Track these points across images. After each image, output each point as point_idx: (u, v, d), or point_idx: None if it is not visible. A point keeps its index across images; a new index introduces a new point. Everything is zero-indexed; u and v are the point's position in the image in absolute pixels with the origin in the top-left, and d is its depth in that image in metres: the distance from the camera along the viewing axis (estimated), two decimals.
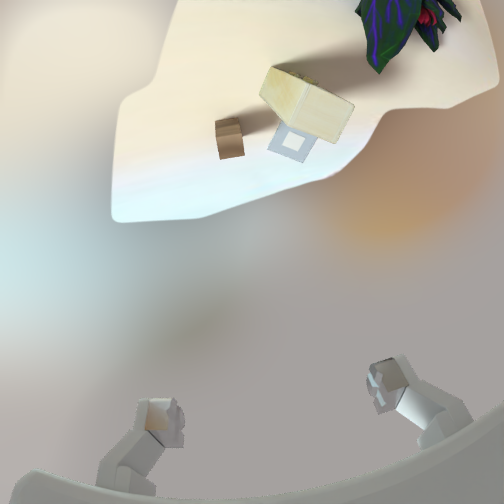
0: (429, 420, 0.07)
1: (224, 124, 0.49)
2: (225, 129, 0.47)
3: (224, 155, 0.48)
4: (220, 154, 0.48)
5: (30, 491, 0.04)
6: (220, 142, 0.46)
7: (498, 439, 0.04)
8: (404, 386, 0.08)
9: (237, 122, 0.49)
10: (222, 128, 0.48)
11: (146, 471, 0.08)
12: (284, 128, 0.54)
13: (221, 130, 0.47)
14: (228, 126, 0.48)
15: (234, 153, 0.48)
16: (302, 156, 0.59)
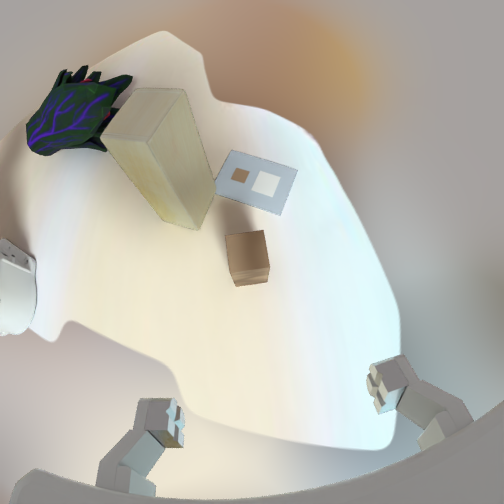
0: (429, 420, 0.07)
1: None
2: None
3: (262, 260, 0.32)
4: (260, 266, 0.32)
5: (30, 491, 0.04)
6: (238, 266, 0.32)
7: (498, 439, 0.04)
8: (404, 386, 0.08)
9: None
10: None
11: (146, 471, 0.08)
12: (247, 196, 0.44)
13: None
14: None
15: (259, 244, 0.32)
16: (288, 171, 0.45)
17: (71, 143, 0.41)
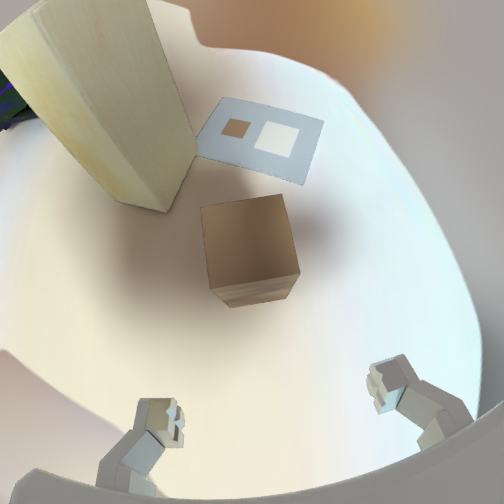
0: (429, 420, 0.07)
1: None
2: None
3: (282, 259, 0.14)
4: (279, 272, 0.14)
5: (30, 491, 0.04)
6: (229, 274, 0.14)
7: (498, 438, 0.04)
8: (404, 386, 0.08)
9: None
10: None
11: (146, 471, 0.08)
12: (248, 157, 0.26)
13: None
14: None
15: (274, 224, 0.15)
16: (309, 121, 0.27)
17: (14, 110, 0.24)
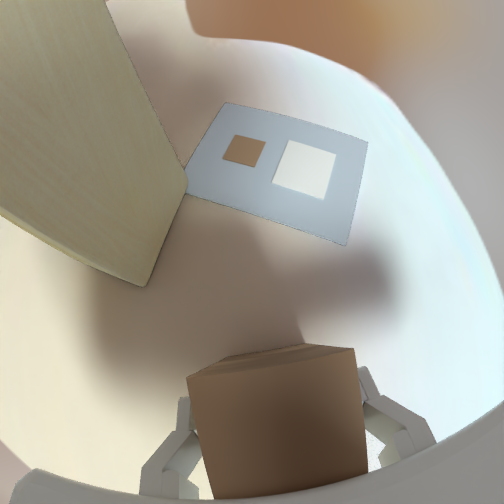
0: (390, 437, 0.07)
1: None
2: None
3: (344, 469, 0.06)
4: None
5: (30, 491, 0.04)
6: (250, 494, 0.06)
7: (498, 438, 0.04)
8: (362, 401, 0.08)
9: None
10: None
11: (187, 473, 0.08)
12: (263, 198, 0.18)
13: None
14: None
15: (335, 415, 0.06)
16: (349, 142, 0.19)
17: None
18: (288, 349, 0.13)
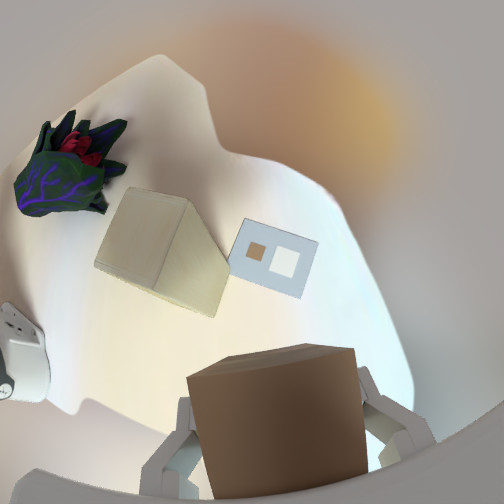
0: (391, 437, 0.07)
1: None
2: None
3: (344, 469, 0.06)
4: None
5: (30, 491, 0.04)
6: (250, 493, 0.06)
7: (498, 439, 0.04)
8: (362, 400, 0.08)
9: None
10: None
11: (188, 473, 0.08)
12: (264, 277, 0.41)
13: None
14: None
15: (336, 414, 0.06)
16: (308, 245, 0.42)
17: (65, 210, 0.39)
18: (288, 349, 0.13)
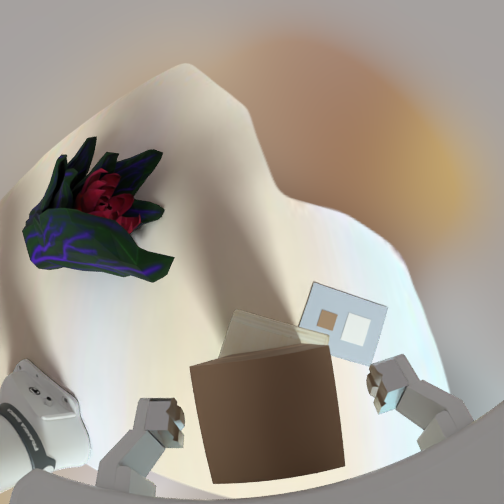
0: (429, 420, 0.07)
1: None
2: None
3: (322, 451, 0.07)
4: (314, 467, 0.07)
5: (30, 491, 0.04)
6: (241, 469, 0.07)
7: (498, 439, 0.04)
8: (404, 386, 0.08)
9: None
10: None
11: (146, 471, 0.08)
12: (336, 347, 0.36)
13: None
14: None
15: (313, 401, 0.08)
16: (378, 310, 0.37)
17: None
18: None
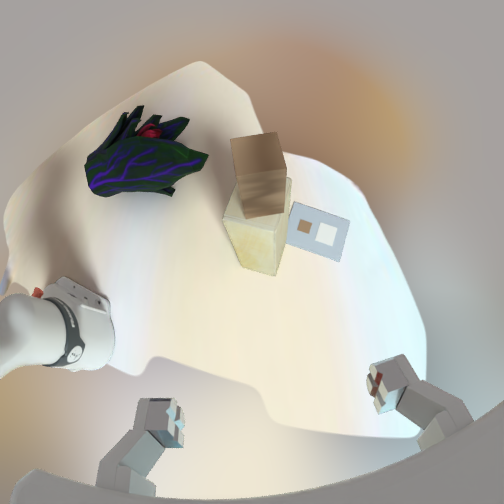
0: (429, 420, 0.07)
1: None
2: None
3: (276, 161, 0.24)
4: (274, 167, 0.24)
5: (30, 491, 0.04)
6: (247, 169, 0.24)
7: (498, 439, 0.04)
8: (404, 386, 0.08)
9: None
10: None
11: (146, 471, 0.08)
12: (312, 245, 0.53)
13: None
14: None
15: (272, 146, 0.25)
16: (342, 222, 0.54)
17: (141, 190, 0.50)
18: None
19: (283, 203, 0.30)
